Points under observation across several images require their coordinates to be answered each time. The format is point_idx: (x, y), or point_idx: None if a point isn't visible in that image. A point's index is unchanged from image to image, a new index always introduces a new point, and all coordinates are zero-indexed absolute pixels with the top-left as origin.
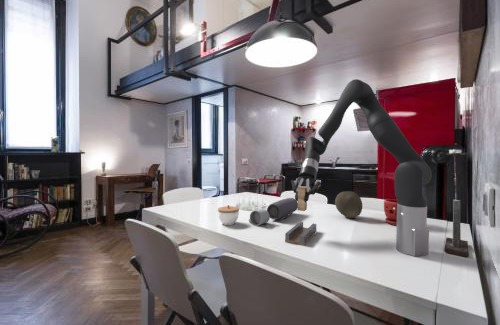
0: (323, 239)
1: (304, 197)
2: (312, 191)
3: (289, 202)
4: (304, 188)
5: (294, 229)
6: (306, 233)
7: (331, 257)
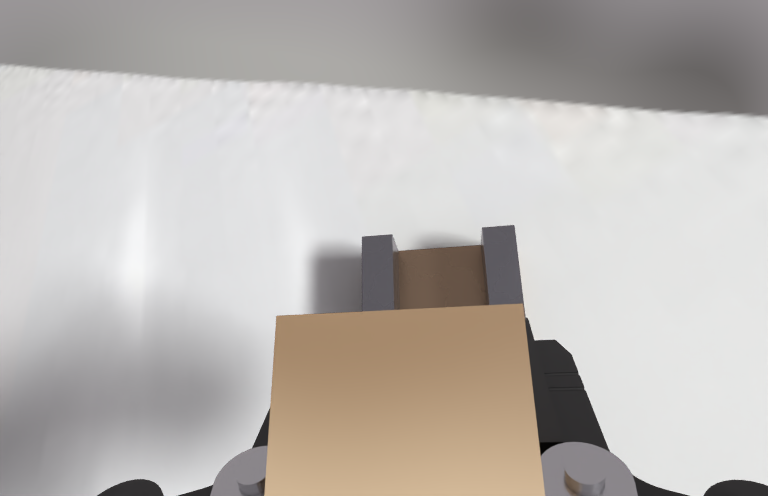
0: None
1: None
2: (126, 488)
3: None
4: (292, 320)
5: None
6: None
7: (202, 180)
